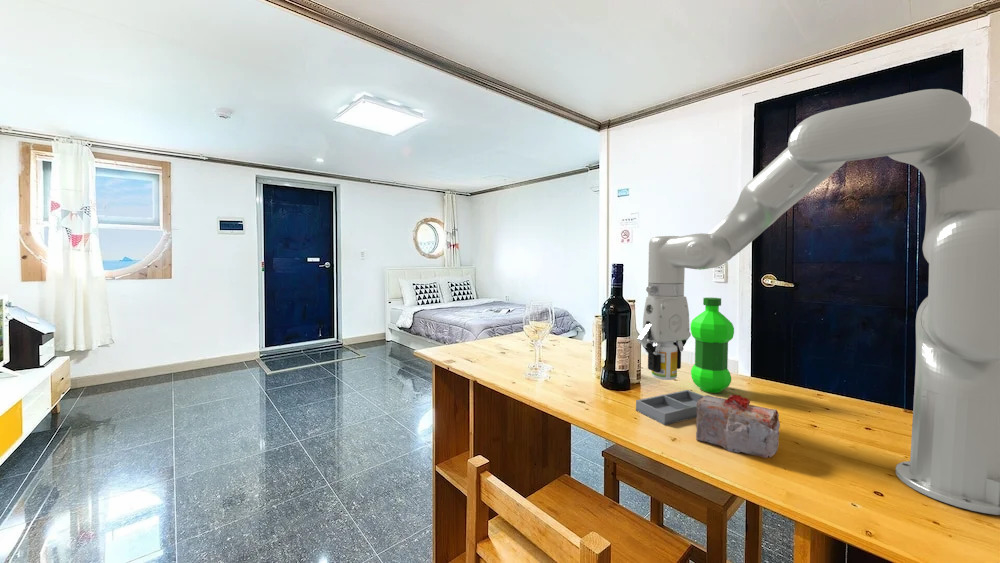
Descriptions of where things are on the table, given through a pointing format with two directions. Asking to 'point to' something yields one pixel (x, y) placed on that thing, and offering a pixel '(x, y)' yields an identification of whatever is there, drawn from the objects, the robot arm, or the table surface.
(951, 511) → the table surface
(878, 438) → the table surface
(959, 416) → the robot arm
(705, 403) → the food item
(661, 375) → the supplement bottle
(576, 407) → the table surface
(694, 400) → the divided tray
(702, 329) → the plastic bottle
